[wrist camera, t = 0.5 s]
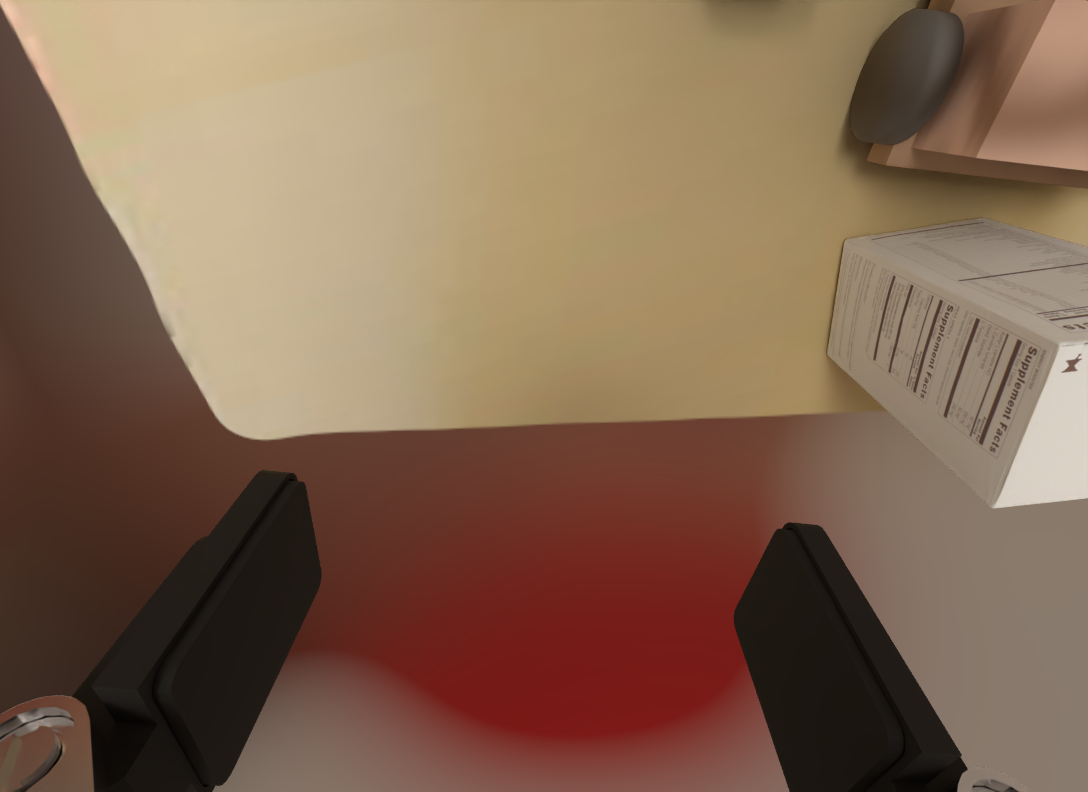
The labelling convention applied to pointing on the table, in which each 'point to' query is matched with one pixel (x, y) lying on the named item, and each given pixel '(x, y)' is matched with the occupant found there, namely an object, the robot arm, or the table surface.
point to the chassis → (980, 91)
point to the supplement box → (975, 350)
